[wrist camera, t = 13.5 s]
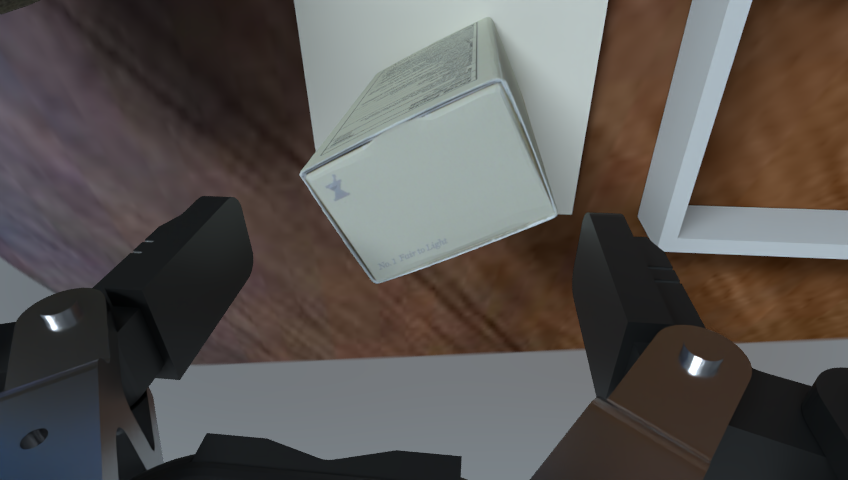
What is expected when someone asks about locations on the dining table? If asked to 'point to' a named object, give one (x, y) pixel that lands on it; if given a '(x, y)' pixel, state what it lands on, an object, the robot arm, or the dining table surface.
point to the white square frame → (684, 149)
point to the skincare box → (433, 158)
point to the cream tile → (441, 16)
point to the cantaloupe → (14, 5)
